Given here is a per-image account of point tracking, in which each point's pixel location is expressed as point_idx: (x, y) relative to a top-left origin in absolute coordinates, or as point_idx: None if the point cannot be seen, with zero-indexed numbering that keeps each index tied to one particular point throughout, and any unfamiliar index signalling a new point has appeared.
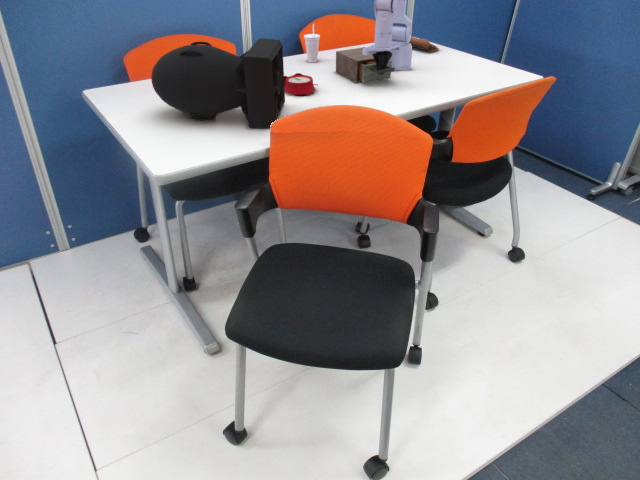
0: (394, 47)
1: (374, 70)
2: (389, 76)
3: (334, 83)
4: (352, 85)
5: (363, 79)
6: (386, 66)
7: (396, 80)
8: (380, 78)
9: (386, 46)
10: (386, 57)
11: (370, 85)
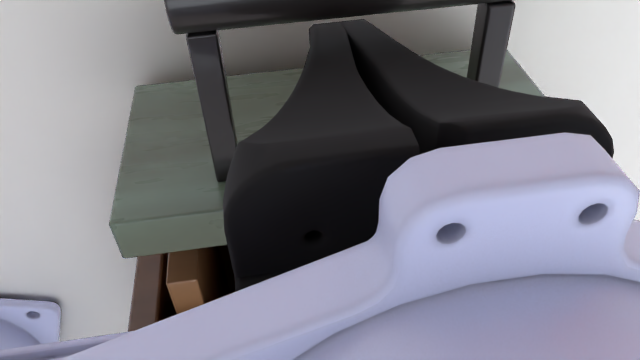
0: (141, 350)
1: (502, 50)
2: (152, 96)
3: (637, 171)
4: (567, 81)
5: (518, 72)
6: (236, 141)
7: (56, 59)
8: (284, 79)
9: (582, 327)
10: (396, 122)
11: (424, 16)
